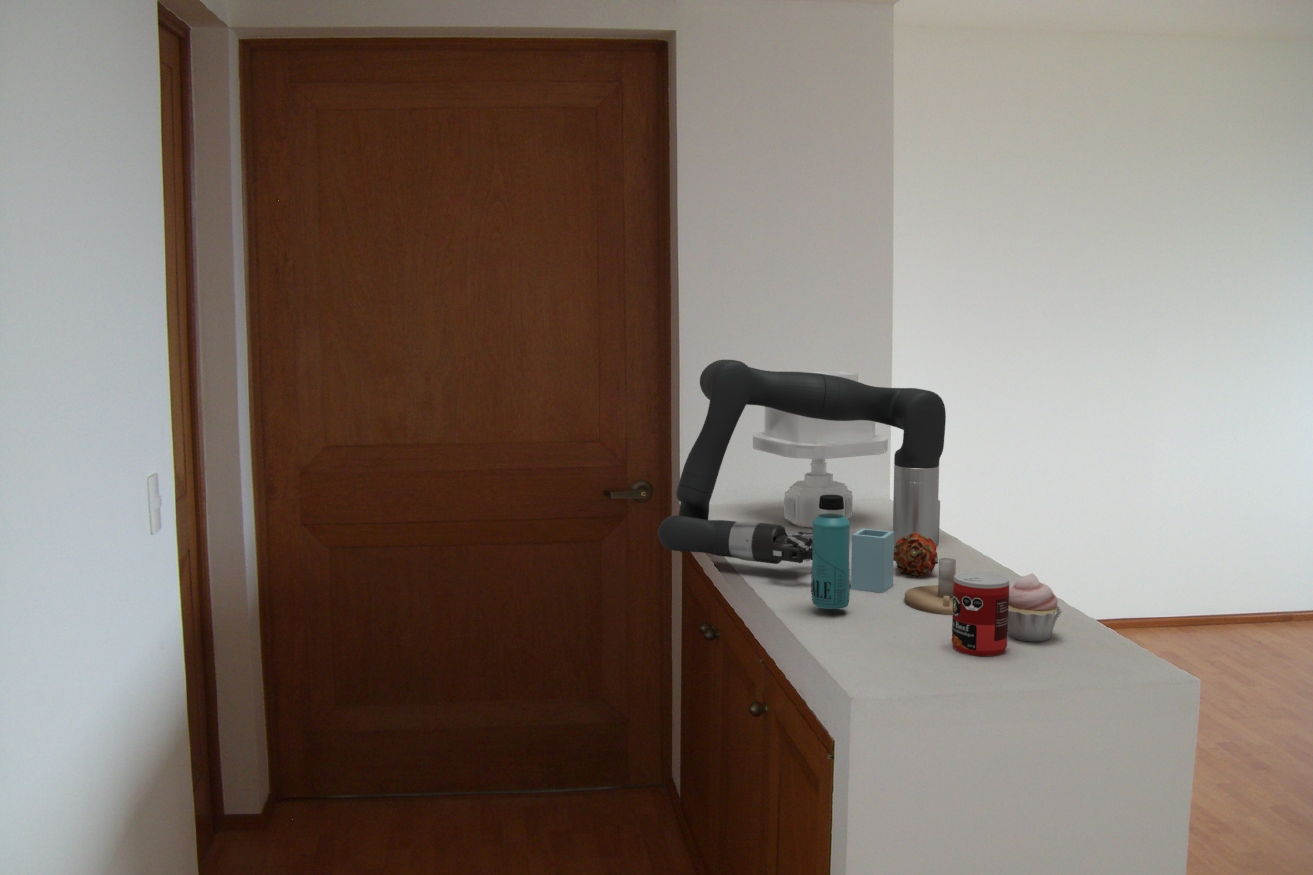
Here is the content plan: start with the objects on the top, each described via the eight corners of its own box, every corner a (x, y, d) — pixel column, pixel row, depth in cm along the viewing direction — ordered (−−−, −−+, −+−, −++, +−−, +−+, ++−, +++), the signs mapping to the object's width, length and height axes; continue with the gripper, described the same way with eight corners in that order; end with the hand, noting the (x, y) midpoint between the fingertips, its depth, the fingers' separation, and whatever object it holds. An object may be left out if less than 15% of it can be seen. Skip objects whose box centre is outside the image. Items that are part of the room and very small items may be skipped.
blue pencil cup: (861, 580, 200) (862, 528, 198) (892, 584, 197) (894, 531, 195) (850, 588, 194) (851, 534, 193) (883, 592, 191) (884, 538, 190)
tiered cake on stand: (740, 517, 257) (740, 371, 253) (833, 507, 269) (835, 368, 264) (800, 539, 233) (802, 379, 229) (899, 527, 245) (903, 374, 240)
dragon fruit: (922, 590, 199) (900, 582, 211) (957, 561, 200) (933, 555, 212) (895, 554, 198) (874, 548, 210) (930, 525, 199) (907, 521, 211)
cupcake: (1074, 638, 165) (1077, 575, 164) (1034, 649, 161) (1037, 584, 159) (1024, 623, 173) (1027, 563, 172) (985, 633, 168) (987, 571, 167)
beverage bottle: (852, 608, 182) (854, 492, 179) (846, 619, 176) (848, 499, 173) (814, 605, 184) (816, 490, 182) (806, 616, 178) (808, 497, 175)
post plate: (934, 587, 195) (936, 546, 194) (1004, 603, 184) (1006, 560, 183) (888, 602, 186) (889, 559, 185) (958, 620, 175) (960, 574, 174)
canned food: (944, 641, 165) (946, 571, 163) (994, 639, 165) (997, 570, 164) (962, 657, 157) (964, 584, 156) (1015, 656, 158) (1018, 583, 156)
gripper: (742, 530, 199) (825, 538, 191) (772, 515, 211) (851, 523, 204) (742, 569, 200) (825, 579, 192) (771, 553, 212) (850, 562, 205)
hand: (838, 550), depth 198 cm, fingers open, 8 cm apart
